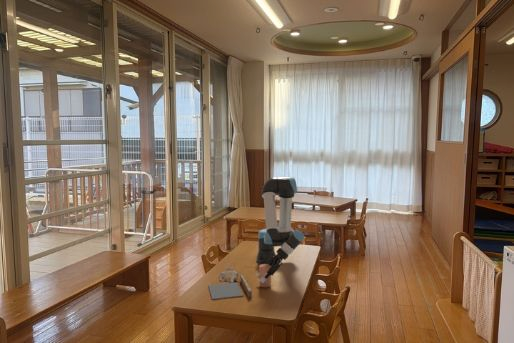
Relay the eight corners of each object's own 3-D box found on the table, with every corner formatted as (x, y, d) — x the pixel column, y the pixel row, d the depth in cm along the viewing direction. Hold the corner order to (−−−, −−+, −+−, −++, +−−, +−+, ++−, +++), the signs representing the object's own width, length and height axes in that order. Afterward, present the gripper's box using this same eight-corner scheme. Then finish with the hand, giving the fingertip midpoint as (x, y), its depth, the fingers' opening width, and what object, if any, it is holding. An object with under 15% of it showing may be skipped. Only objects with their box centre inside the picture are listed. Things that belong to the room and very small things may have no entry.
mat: (208, 286, 227) (208, 285, 227) (237, 283, 231) (237, 282, 231) (212, 299, 207) (212, 298, 207) (243, 296, 211) (243, 295, 211)
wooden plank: (240, 281, 234) (240, 274, 234) (242, 280, 235) (242, 274, 234) (248, 297, 209) (248, 291, 209) (251, 297, 209) (251, 290, 209)
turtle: (242, 283, 238) (243, 267, 241) (238, 284, 229) (240, 267, 232) (219, 281, 241) (220, 265, 244) (214, 281, 233) (216, 265, 235)
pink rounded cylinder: (258, 283, 228) (258, 264, 227) (269, 282, 230) (269, 263, 229) (261, 288, 221) (260, 268, 220) (272, 286, 223) (272, 267, 222)
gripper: (294, 260, 218) (268, 289, 216) (283, 250, 237) (259, 277, 235) (285, 252, 216) (259, 281, 214) (276, 242, 235) (251, 269, 233)
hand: (259, 279), depth 224 cm, fingers closed on pink rounded cylinder, 7 cm apart
